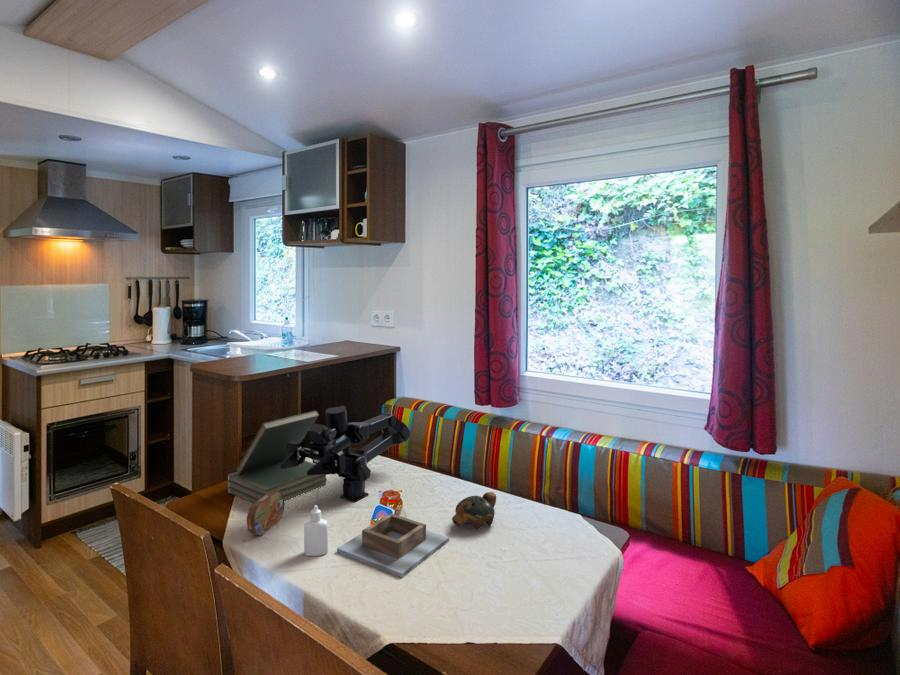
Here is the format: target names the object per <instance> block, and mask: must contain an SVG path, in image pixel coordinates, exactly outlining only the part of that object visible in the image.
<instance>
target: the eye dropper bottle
mask: <svg viewBox="0 0 900 675" xmlns="http://www.w3.org/2000/svg"><path fill="white" fill-rule="evenodd" d="M303 540H304V541H303V544H304V545H303V546H304V547H303V548H304V549H303V550H304V553H303V554H304V556H306V557H307V556H308V557H317V556H323V555H326V554H328V551H329V523H328V520H326V519H325V518H322V510H320V508H319V507H318V505H314V506H313V509H311V511H310V519H308V520H307V521H305V522H304V526H303Z"/></svg>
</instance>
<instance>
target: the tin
mask: <svg viewBox="0 0 900 675" xmlns="http://www.w3.org/2000/svg"><path fill="white" fill-rule="evenodd" d="M284 510H285V502H284V497H283V494H282V493H281V492H279V491H278V492H269V493H267V494H266V495H265V496H263V497H262V498H261V499H259V500H258V501H257V502H255V503H252V505H251V506H250V507H249V509H248V512H247V515H246V526H247V532H248V533H249V534H251V535H252V536H253V535H254V536H264V535H265V534H266V533H267V532H268V531H269V530H270V529H272V528H273V527H274V526H275V525H276V524H277V523H279V522H280V521H281V519H282V518H283V514H284ZM273 525H274V526H273ZM272 526H273V527H272ZM271 527H272V528H271ZM266 531H267V532H266ZM265 532H266V533H265ZM264 533H265V534H264ZM263 534H264V535H263Z"/></svg>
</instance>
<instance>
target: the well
mask: <svg viewBox="0 0 900 675" xmlns="http://www.w3.org/2000/svg"><path fill="white" fill-rule="evenodd" d="M449 541H450V537H449V536H446V535H443V534H440V533H437V532H434V531H430V530H428V529H427V524H425V523H423V522H419V521H417V520H413V519H409V518H406V517H404V516H401V515H398V514H394V513H389V514H387V515H386V516H384V517H382V518H381V519H378V520H377V521H375V522H374V523H371V525H369V526H367V527H365V528H364V529H362V530H361V533H360V534H358V535H357V536H355V537H353V538H351V539H350V540H348V541H347V542H345V543H343V544H341V545H340V546H339V547H337V548H336V552H337V553H338V552H339V553H338V554H341V553H342V554H341V555H343V554H344V556H347V557H349V558H352V559H353V560H356V561H359V562H361V563H364V564H366V565H369V566H372V567H374V568H377V569H378V570H381V571H384V572H387V573H389V574H392V575H394V576H397V577H399V578H404V577H405V576H406V575H408V574H409V573H410V572H411V571H413V570H414V569H416V568H417V567H418V566H419V565H420V564H422V563H423V562H424V561H426V560H427V559H428V558H430V557H431V556H432V555H433V554H434V553H436V552H437V551H438V550H439V549H441V548H442V547H443V546H444V545H446V544H447V543H448V542H449Z"/></svg>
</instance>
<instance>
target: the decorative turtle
mask: <svg viewBox="0 0 900 675" xmlns="http://www.w3.org/2000/svg"><path fill="white" fill-rule="evenodd" d="M496 503H497V495H496V493H495V492H492V491H487V492H485V493H483V495H482V496H480V495H471V496H467V497H464V498H463V499H462V500H460V501H459V502H458V503H457V504H456V507H455V511H454V512H455V514H454V515H453V516H452V518H451V520H452V522H453V524H454V525H455V526H456V527H461V526H464V525H465V524H468V523H471V524H472V526H473V527H474V528H475V529H476V530H480V529H481V528H482V527H483V526H484V525H485V524H486V525H487V526H491V525H492V524H493V523H494V518H495V514H496V512H495V506H496Z"/></svg>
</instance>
